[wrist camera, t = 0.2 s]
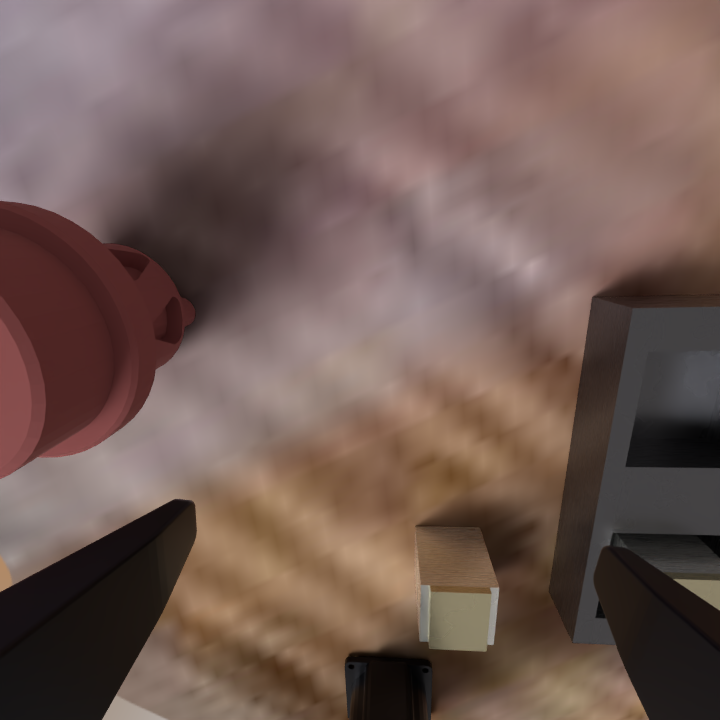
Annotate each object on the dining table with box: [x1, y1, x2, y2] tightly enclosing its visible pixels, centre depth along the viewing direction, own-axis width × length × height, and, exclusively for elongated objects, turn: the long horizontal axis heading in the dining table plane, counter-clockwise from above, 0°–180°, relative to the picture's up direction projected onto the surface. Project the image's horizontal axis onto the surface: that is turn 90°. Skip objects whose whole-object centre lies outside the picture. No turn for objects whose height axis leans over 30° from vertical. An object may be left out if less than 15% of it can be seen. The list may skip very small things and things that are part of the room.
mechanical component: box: [0, 201, 195, 479], centre depth 16 cm, size 12×10×10 cm
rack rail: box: [549, 294, 720, 645], centre depth 21 cm, size 20×8×4 cm, turn 2°
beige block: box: [610, 533, 720, 610], centre depth 21 cm, size 4×4×5 cm
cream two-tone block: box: [415, 526, 499, 652], centre depth 23 cm, size 4×4×5 cm
